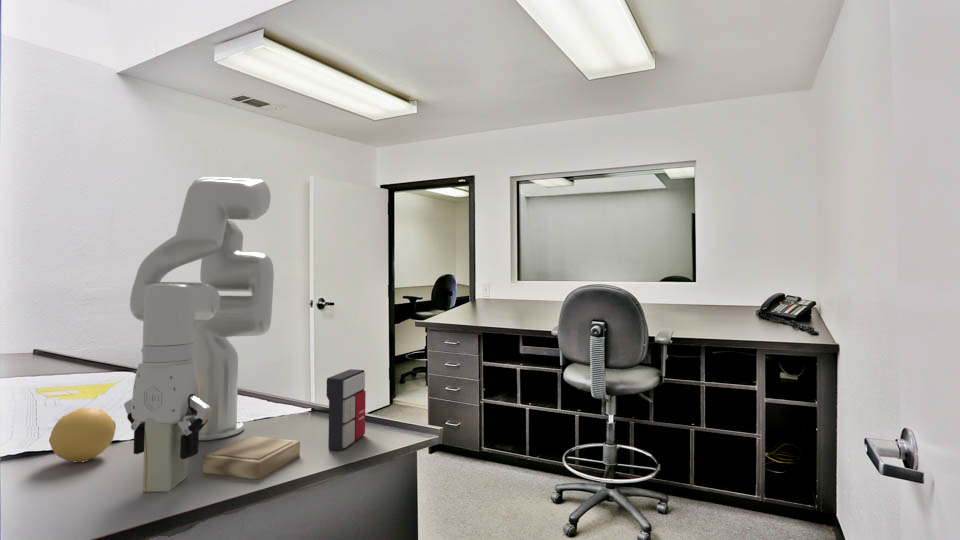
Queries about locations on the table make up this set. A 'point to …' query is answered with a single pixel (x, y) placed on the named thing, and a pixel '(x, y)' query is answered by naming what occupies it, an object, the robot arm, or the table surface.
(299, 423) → the table surface
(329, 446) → the grey red panelled box
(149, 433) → the skincare box
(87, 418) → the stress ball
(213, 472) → the oak plinth
